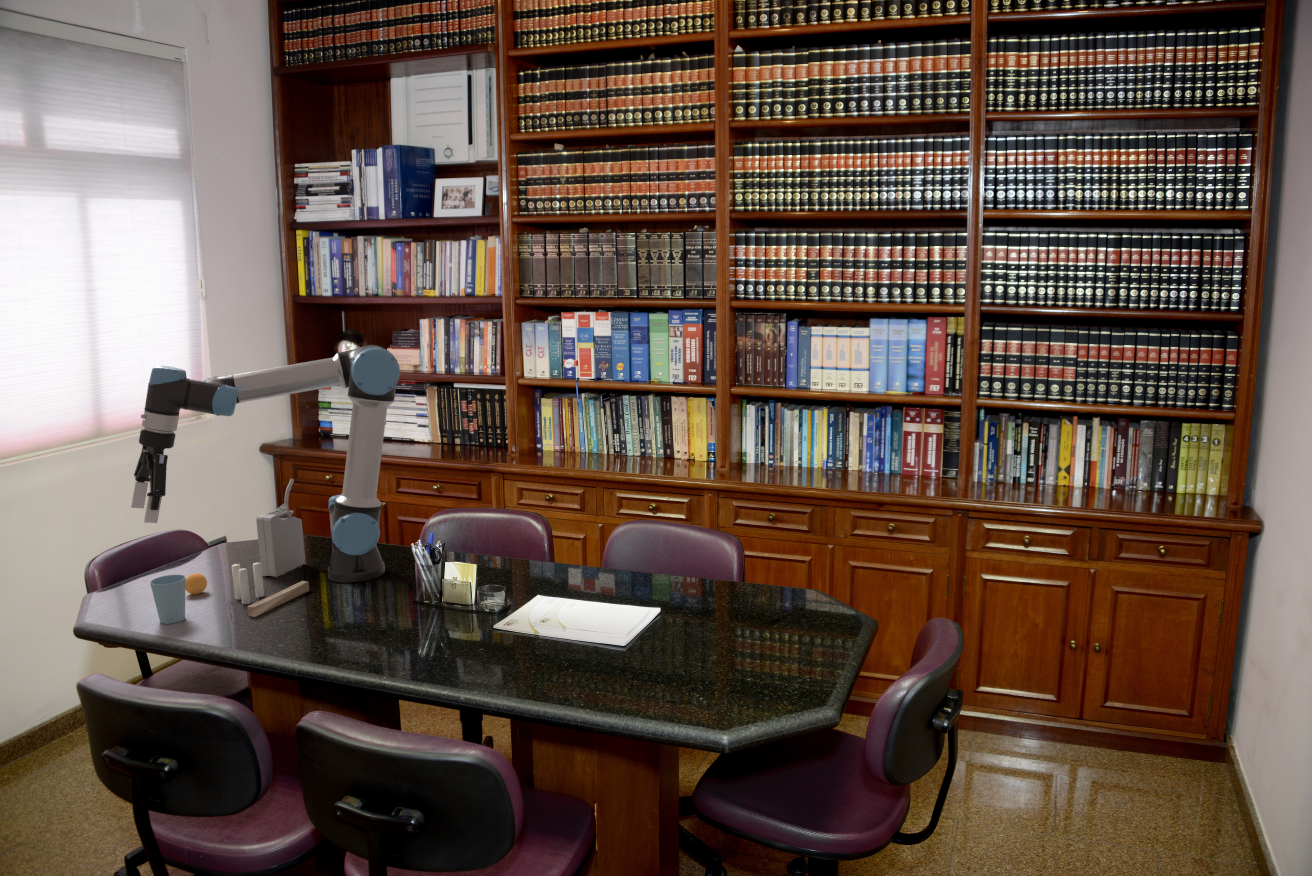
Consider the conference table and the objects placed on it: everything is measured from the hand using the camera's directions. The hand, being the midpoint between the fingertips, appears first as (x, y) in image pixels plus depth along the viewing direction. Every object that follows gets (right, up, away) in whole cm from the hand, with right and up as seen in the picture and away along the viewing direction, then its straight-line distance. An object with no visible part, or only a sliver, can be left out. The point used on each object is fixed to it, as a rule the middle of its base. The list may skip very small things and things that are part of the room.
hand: (143, 515), depth 226 cm
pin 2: (+21, -23, +17) cm, 35 cm away
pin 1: (+20, -24, +12) cm, 33 cm away
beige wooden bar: (+28, -23, +12) cm, 39 cm away
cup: (+6, -26, +1) cm, 27 cm away
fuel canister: (+19, -19, +40) cm, 48 cm away
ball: (+3, -20, +20) cm, 28 cm away
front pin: (+16, -23, +16) cm, 32 cm away
